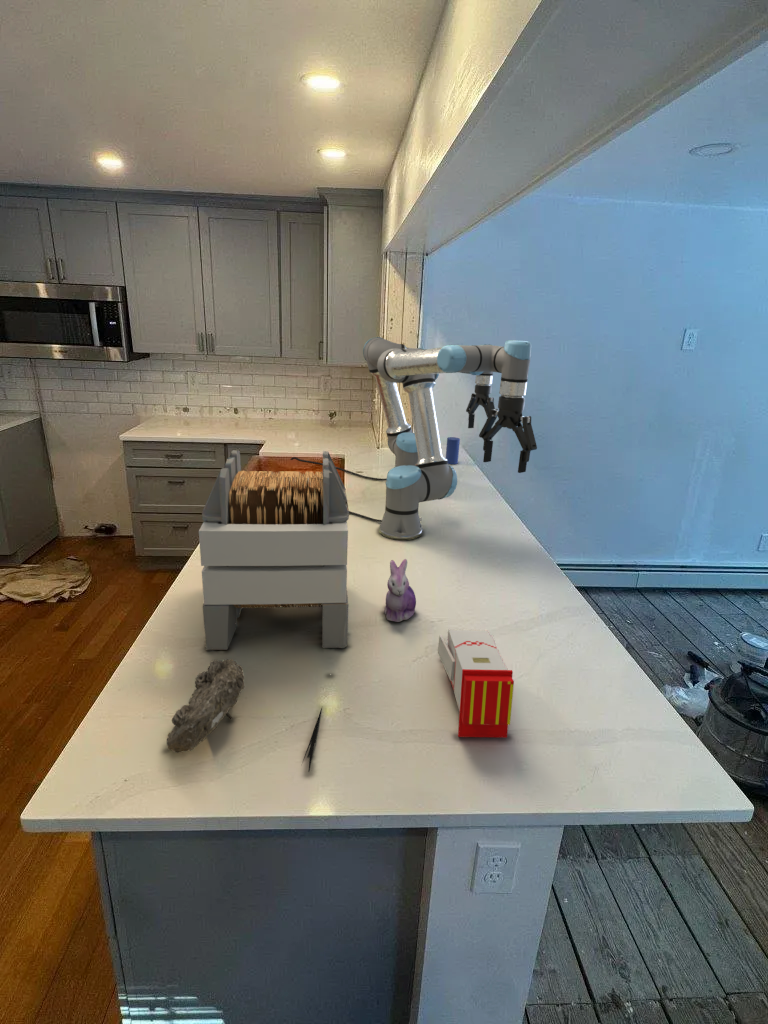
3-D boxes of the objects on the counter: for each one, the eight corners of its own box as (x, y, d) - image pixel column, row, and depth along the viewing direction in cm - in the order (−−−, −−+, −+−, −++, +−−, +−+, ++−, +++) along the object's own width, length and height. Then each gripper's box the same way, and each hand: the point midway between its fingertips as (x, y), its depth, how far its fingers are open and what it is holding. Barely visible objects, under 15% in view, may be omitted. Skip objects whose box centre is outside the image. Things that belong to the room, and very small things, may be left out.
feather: (331, 679, 122) (336, 673, 122) (307, 777, 96) (313, 769, 95) (324, 675, 122) (329, 669, 121) (298, 772, 95) (304, 764, 95)
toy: (488, 613, 130) (523, 677, 101) (484, 667, 133) (517, 744, 104) (435, 612, 130) (455, 676, 101) (432, 666, 133) (451, 743, 103)
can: (442, 462, 296) (444, 438, 292) (449, 460, 301) (451, 436, 296) (453, 465, 292) (455, 440, 288) (459, 462, 297) (462, 438, 293)
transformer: (226, 583, 159) (217, 441, 145) (342, 582, 163) (345, 443, 149) (203, 652, 127) (189, 478, 114) (348, 648, 131) (352, 480, 117)
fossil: (192, 660, 117) (244, 628, 112) (224, 691, 120) (276, 661, 115) (142, 746, 98) (202, 712, 93) (182, 779, 101) (242, 748, 96)
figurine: (392, 627, 141) (395, 572, 136) (374, 608, 149) (376, 556, 144) (425, 619, 145) (429, 566, 140) (405, 601, 154) (408, 550, 149)
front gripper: (556, 401, 158) (545, 475, 165) (488, 389, 176) (481, 456, 183) (539, 403, 153) (529, 478, 160) (471, 390, 172) (465, 459, 179)
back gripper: (507, 388, 248) (502, 435, 255) (474, 380, 269) (470, 425, 276) (493, 388, 245) (489, 437, 252) (461, 381, 266) (457, 426, 273)
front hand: (503, 466), depth 172 cm, fingers open, 13 cm apart
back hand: (479, 430), depth 264 cm, fingers open, 13 cm apart
